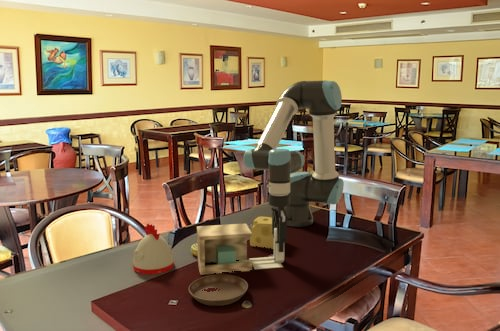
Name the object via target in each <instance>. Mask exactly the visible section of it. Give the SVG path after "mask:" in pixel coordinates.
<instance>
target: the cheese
mask: <svg viewBox="0 0 500 331" xmlns="http://www.w3.org/2000/svg"><path fill="white" fill-rule="evenodd" d="M250 231H251V232H252V237H249V245H250V247H256V246H257V248H264V247H265V248H264V249H270V248H271V249H272V250H274V237H273V234H272V216H271V217H270V216H262V215H259V216H258V217H256V218H255V219H254V220H253V225H252V226H251V228H250Z"/></svg>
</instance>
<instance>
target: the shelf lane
mask: <svg viewBox="0 0 500 331" xmlns="http://www.w3.org/2000/svg"><path fill="white" fill-rule="evenodd" d="M250 237H252V232H251V228H249V226H248V224H247V223H231V224H230V223H229V224H215V225H199V226H196V241H197V242H196V243H197V253H198V257H197V265H198V270H199V274H200V275H201V276H202V275H203V276H204V275H215V274H214V273H216V274H223V273H222V272H229V273H235V272H234V271H241V272H251V271H250V270H252V271H253V265H252V262H243V263H230V264H217V263H216V246H231V245H233V246H234V249H235V251H236V260H239V261H241V260H248V240H247V239H248V238H250ZM211 262H213V263H216V264H210V263H211ZM232 271H233V272H232Z"/></svg>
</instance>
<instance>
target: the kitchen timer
mask: <svg viewBox="0 0 500 331" xmlns="http://www.w3.org/2000/svg"><path fill="white" fill-rule="evenodd" d="M144 232H145V234H146V235H145V236H143V238H142V239H140V241H139V243H138V245H137V246H136V248H135V249H134V250H133V260H132V268H133V271H134V272H136V273H139V274H143V275H156V274H162V273H165V272H168V271H170V270H171V269H173V267H174V265H175V260H174V255H173V252H172V250H173V249H172V245H169V244H168V242H167V241H166V239H165V237H163V236H161V235H160V233H158V229H156V227H155V225H153V223H152V224H150V223H147V224H146V226H144Z"/></svg>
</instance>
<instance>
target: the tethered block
mask: <svg viewBox="0 0 500 331" xmlns="http://www.w3.org/2000/svg"><path fill="white" fill-rule="evenodd" d="M275 241H277V228H274V249H273V257H274V258H267V259H254V260H250V259H247V260H239V261H236V251H235V249H234V246H233V245H231V246H216V262H215V263H216V265H217V264H230V263H243V262H258V261H271V260H274V262H276V263H281V264H282V263H284V261H285V259H284V260H279V261H277V260H276V243H275Z"/></svg>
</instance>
